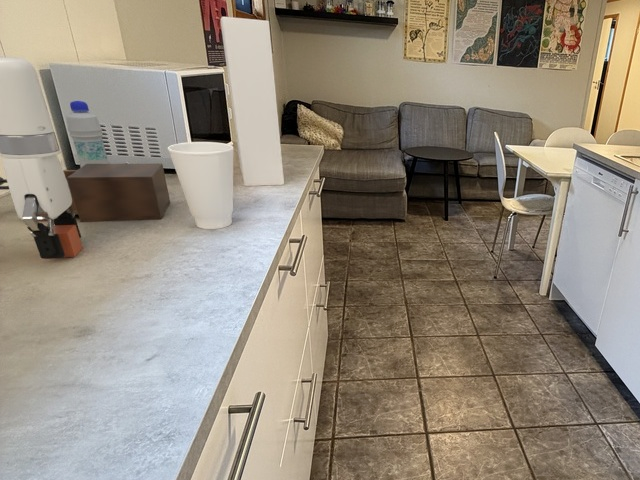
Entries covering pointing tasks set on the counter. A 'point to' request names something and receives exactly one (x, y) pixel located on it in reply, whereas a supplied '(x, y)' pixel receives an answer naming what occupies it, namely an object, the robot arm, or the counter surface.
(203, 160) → the cup
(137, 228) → the counter surface
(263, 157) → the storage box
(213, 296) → the counter surface
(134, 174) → the cabinet
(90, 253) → the counter surface
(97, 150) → the bottle
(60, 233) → the block
